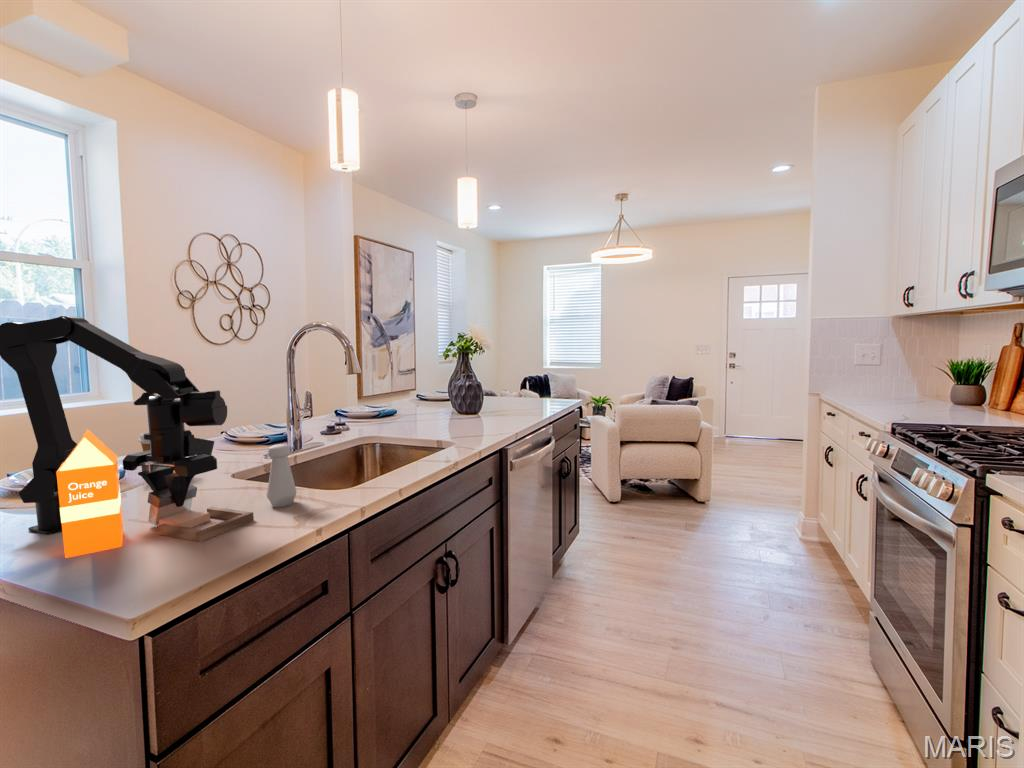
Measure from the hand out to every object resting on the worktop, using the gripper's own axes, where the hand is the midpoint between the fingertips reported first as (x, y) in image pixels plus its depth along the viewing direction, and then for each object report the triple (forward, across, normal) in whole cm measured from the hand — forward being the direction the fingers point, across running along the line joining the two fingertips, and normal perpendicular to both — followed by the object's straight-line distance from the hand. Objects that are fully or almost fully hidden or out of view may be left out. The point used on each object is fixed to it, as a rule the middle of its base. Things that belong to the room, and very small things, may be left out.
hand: (173, 505), depth 99 cm
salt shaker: (+4, -12, -15) cm, 20 cm away
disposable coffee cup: (+4, +36, -23) cm, 42 cm away
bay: (+3, -8, 0) cm, 9 cm away
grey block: (+3, +1, 0) cm, 3 cm away
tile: (+4, -3, 0) cm, 5 cm away
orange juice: (+4, +3, +12) cm, 13 cm away
